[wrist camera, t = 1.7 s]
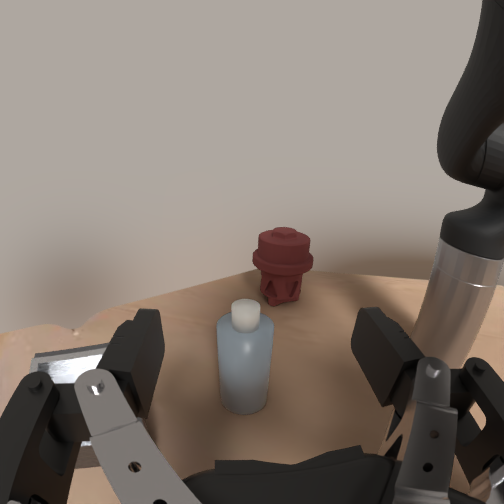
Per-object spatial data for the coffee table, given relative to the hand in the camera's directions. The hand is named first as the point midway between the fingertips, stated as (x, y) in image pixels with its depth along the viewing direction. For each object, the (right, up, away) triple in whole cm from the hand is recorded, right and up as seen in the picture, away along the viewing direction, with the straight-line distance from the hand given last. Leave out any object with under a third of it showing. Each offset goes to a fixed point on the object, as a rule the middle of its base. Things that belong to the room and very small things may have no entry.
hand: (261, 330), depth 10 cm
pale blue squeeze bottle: (-1, -13, +17) cm, 21 cm away
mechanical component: (+5, -5, +38) cm, 39 cm away
